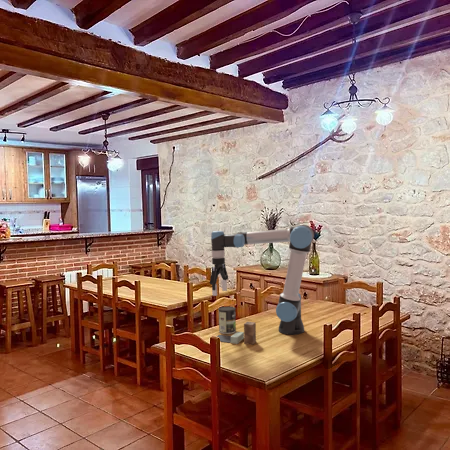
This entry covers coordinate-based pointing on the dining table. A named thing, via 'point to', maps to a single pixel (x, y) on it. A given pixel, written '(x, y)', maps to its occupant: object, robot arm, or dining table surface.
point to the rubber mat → (224, 338)
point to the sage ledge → (237, 337)
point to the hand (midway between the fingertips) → (219, 293)
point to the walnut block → (250, 333)
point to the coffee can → (227, 320)
